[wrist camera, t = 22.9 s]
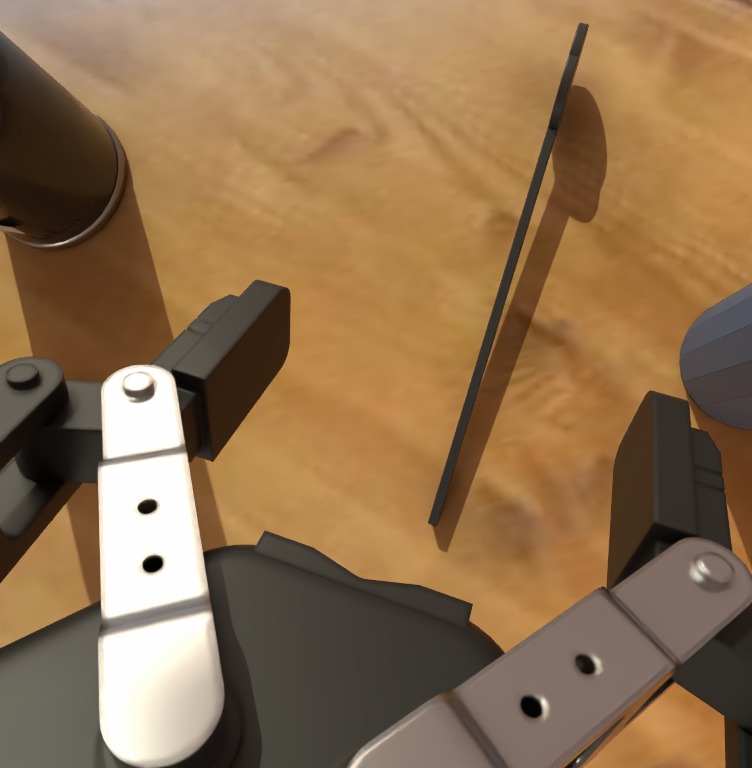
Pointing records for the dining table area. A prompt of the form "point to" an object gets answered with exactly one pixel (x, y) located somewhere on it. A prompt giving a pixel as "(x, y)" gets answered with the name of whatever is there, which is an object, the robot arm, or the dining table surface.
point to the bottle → (721, 360)
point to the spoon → (510, 269)
